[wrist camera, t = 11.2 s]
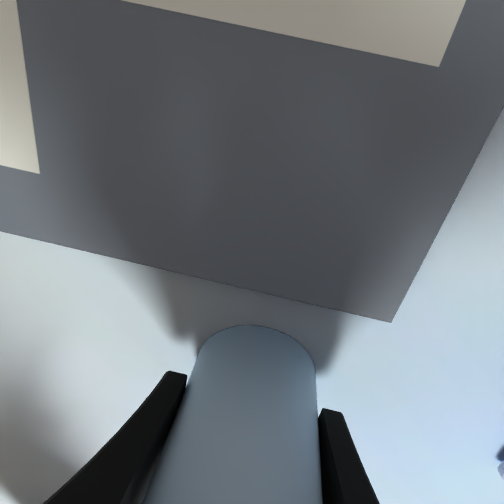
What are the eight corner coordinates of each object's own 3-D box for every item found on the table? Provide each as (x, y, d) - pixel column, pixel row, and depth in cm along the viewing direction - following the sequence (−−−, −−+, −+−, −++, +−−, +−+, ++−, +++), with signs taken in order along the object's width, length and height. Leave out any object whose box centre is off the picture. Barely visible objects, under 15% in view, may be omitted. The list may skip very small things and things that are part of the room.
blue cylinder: (331, 342, 11) (361, 582, 6) (298, 421, 13) (297, 649, 8) (204, 312, 11) (117, 519, 6) (192, 396, 13) (120, 603, 8)
